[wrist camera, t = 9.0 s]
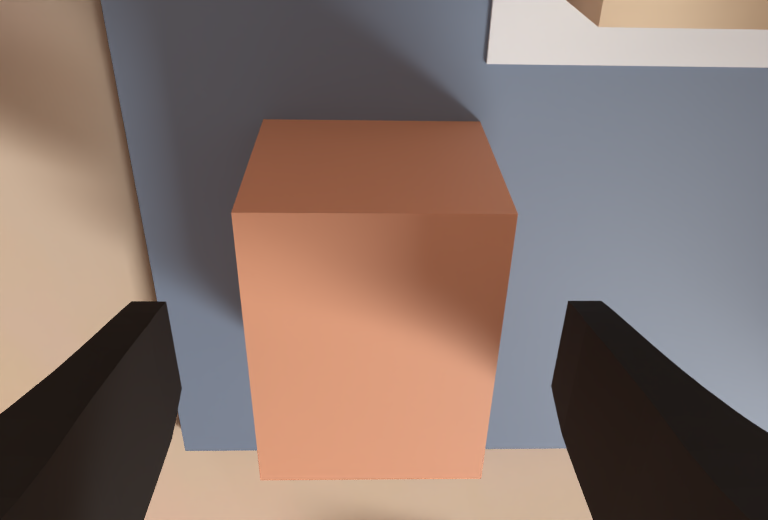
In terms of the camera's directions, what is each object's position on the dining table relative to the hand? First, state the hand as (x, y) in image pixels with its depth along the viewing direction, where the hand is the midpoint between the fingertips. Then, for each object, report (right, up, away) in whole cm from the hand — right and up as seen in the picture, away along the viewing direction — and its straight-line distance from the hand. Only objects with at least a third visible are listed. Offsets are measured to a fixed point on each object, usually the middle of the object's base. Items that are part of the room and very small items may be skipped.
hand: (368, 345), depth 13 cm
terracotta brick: (0, +2, +3) cm, 4 cm away
